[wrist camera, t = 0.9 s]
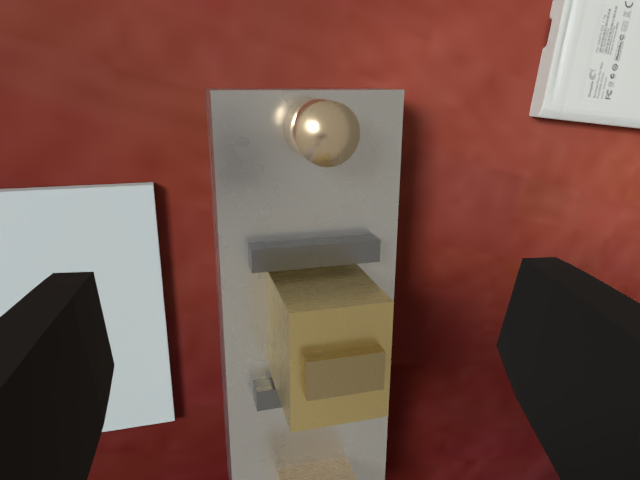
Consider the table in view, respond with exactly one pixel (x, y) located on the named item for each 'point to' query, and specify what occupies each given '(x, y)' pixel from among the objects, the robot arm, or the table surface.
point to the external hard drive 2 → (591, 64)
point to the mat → (99, 279)
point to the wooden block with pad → (329, 345)
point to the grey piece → (297, 251)
